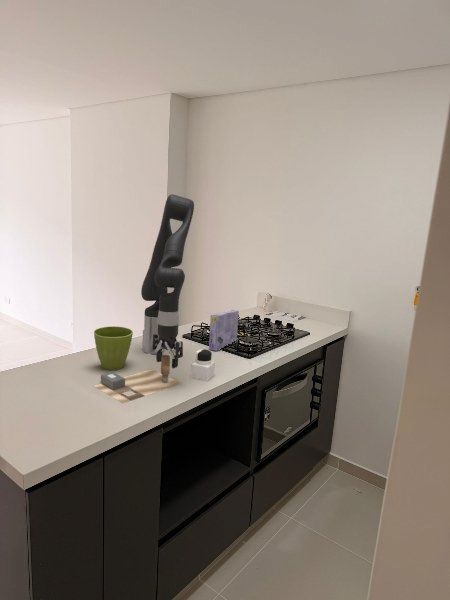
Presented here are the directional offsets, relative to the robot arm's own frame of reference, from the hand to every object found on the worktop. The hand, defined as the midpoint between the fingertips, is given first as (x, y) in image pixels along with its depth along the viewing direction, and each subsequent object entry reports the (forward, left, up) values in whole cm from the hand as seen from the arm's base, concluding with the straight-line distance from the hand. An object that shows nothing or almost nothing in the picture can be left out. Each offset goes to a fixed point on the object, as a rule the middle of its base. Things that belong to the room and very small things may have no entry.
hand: (166, 364), depth 154 cm
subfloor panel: (-4, -9, -8) cm, 13 cm away
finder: (-10, -16, -7) cm, 20 cm away
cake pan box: (-18, +53, -9) cm, 57 cm away
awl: (0, 0, -7) cm, 7 cm away
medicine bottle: (+5, +15, -9) cm, 18 cm away
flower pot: (-25, -6, -9) cm, 28 cm away
